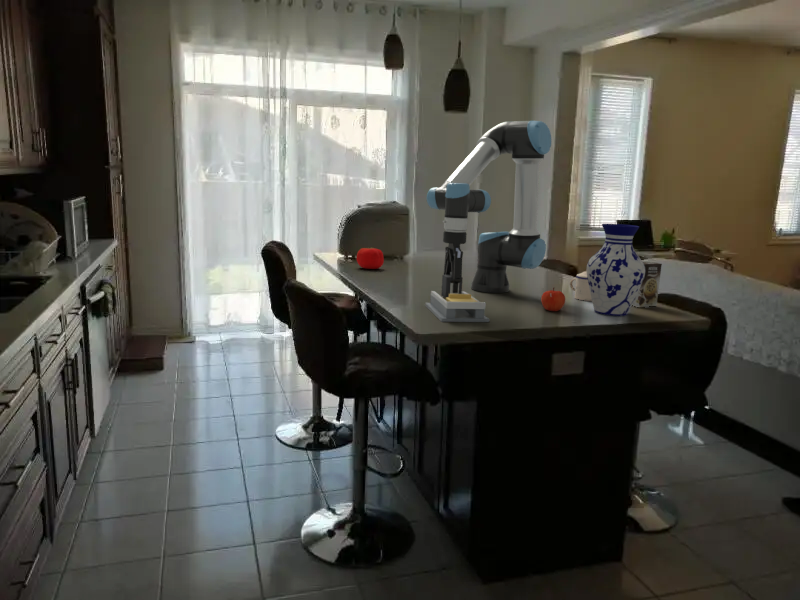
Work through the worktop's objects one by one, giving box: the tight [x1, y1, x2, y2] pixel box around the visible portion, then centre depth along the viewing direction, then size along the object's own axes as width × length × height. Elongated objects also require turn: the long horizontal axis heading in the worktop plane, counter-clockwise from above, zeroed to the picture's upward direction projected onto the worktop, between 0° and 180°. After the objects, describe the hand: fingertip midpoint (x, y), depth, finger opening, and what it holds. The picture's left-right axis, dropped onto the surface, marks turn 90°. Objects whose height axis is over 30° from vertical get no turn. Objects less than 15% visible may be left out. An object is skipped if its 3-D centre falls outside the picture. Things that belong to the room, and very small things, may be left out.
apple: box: [540, 287, 566, 312], centre depth 219 cm, size 8×8×8 cm
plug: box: [440, 272, 463, 300], centre depth 212 cm, size 5×5×11 cm
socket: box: [424, 290, 490, 323], centre depth 206 cm, size 15×24×6 cm, turn 10°
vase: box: [586, 223, 645, 317], centre depth 217 cm, size 19×19×30 cm
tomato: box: [356, 246, 385, 270], centre depth 298 cm, size 11×13×10 cm
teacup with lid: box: [569, 269, 592, 302], centre depth 244 cm, size 12×9×12 cm
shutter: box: [446, 293, 479, 302], centre depth 199 cm, size 9×7×3 cm
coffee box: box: [632, 261, 663, 308], centre depth 234 cm, size 9×6×16 cm
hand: (450, 300), depth 213 cm, fingers open, 7 cm apart
